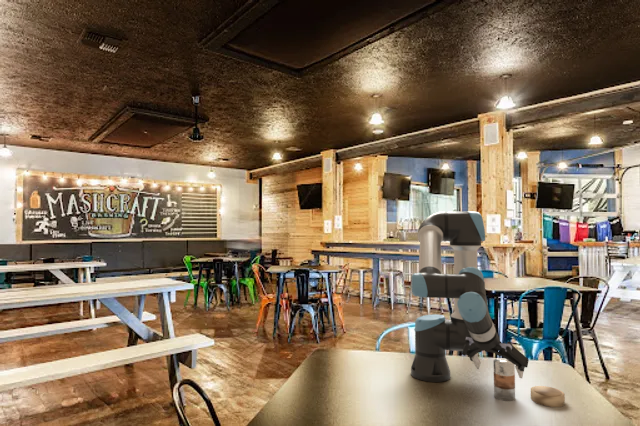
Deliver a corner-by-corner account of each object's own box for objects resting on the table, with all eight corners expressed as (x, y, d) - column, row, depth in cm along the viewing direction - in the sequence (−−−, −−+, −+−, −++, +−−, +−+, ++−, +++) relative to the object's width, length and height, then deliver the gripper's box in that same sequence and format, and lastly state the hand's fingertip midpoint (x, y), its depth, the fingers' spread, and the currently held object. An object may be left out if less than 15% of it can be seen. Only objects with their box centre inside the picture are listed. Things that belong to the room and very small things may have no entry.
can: (491, 397, 142) (490, 361, 142) (497, 391, 147) (496, 356, 147) (512, 402, 138) (511, 365, 138) (517, 396, 143) (516, 360, 143)
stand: (527, 401, 138) (527, 391, 139) (534, 392, 146) (534, 383, 146) (561, 409, 132) (561, 399, 132) (567, 399, 140) (567, 390, 140)
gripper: (440, 336, 132) (459, 371, 143) (525, 350, 116) (539, 389, 127) (447, 316, 137) (465, 352, 147) (529, 328, 120) (543, 367, 131)
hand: (499, 369), depth 137 cm, fingers open, 13 cm apart
